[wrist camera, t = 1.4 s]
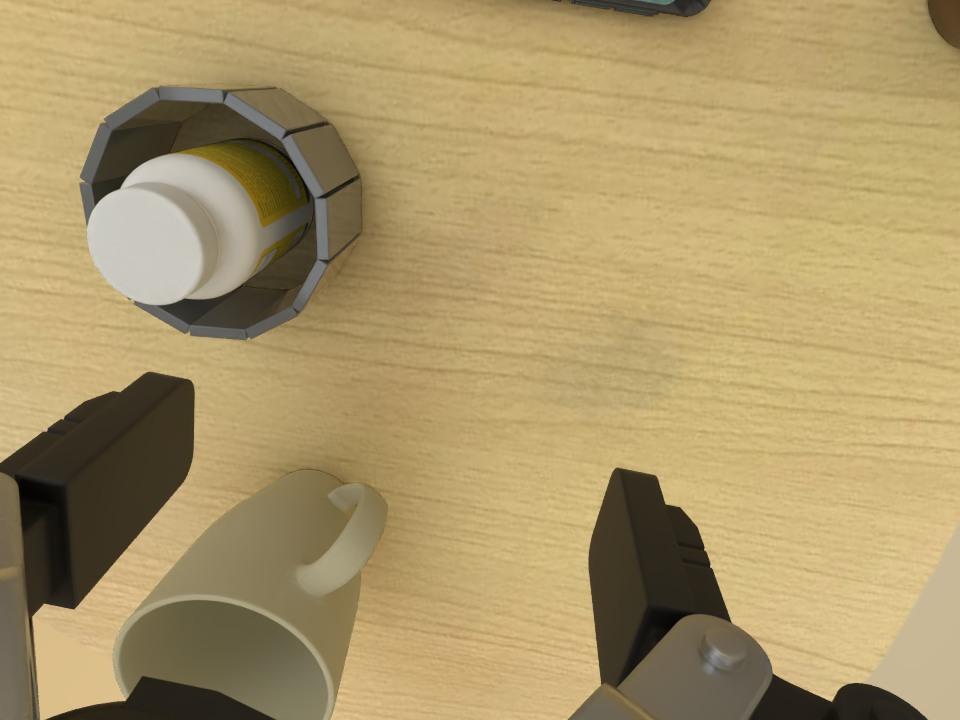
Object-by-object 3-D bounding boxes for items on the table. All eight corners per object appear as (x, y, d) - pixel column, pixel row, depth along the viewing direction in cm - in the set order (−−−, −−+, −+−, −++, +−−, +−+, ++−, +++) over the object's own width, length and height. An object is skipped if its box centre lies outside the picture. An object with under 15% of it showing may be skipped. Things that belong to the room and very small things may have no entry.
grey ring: (113, 149, 31) (30, 164, 26) (287, 42, 28) (233, 35, 23) (234, 329, 34) (181, 374, 29) (400, 245, 32) (374, 278, 27)
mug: (405, 581, 39) (354, 778, 28) (238, 559, 40) (124, 745, 29) (416, 416, 35) (362, 573, 24) (229, 393, 35) (91, 537, 24)
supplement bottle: (204, 124, 30) (62, 145, 21) (322, 152, 30) (232, 185, 21) (198, 240, 32) (67, 306, 23) (309, 266, 32) (221, 341, 23)
